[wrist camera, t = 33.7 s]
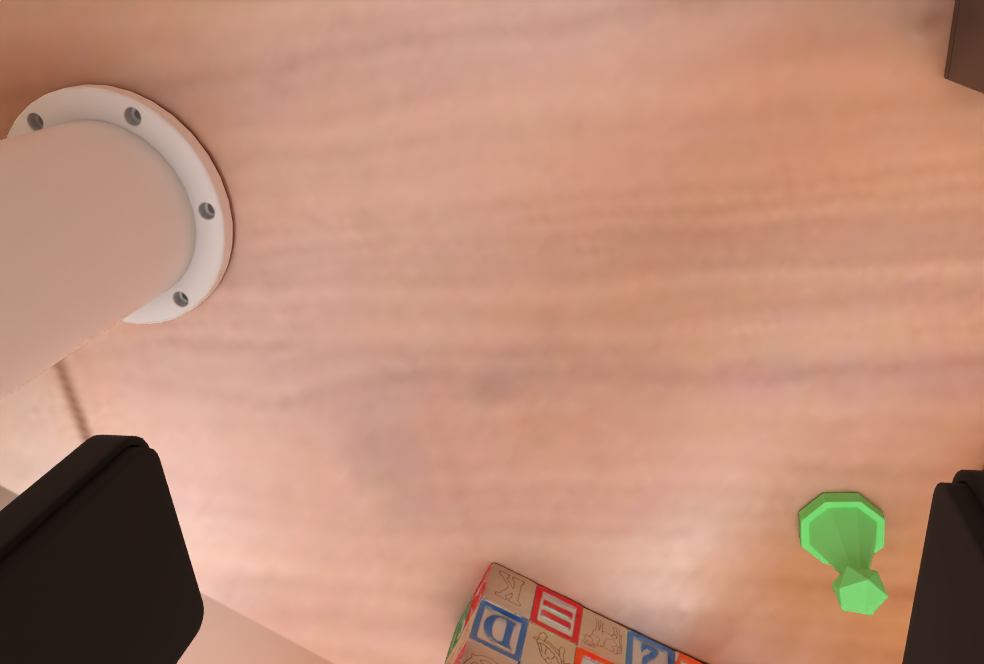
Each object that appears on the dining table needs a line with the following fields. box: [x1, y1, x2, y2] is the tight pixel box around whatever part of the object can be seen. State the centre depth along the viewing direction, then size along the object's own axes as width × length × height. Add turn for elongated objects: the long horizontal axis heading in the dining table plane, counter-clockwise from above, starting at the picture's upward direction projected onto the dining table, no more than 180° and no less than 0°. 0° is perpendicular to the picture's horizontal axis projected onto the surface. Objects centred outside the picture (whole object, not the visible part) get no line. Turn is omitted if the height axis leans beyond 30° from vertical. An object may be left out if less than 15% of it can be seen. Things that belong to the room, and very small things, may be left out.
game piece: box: [799, 493, 888, 615], centre depth 38 cm, size 4×4×6 cm
